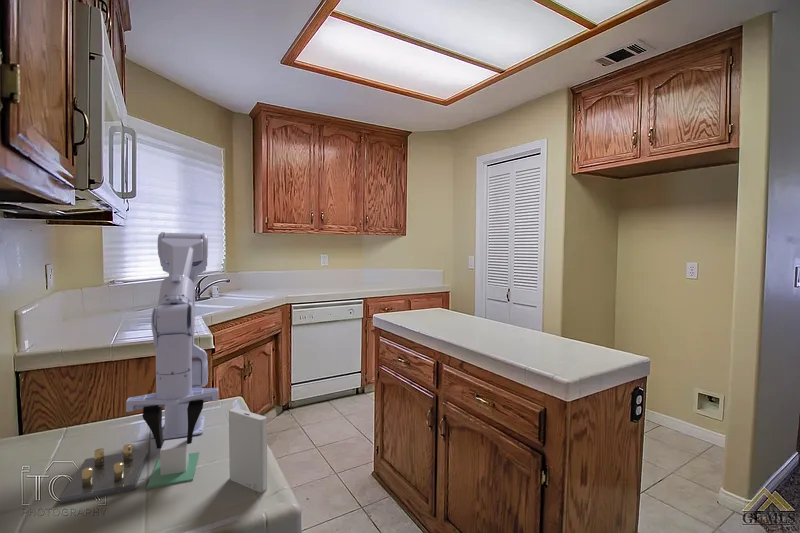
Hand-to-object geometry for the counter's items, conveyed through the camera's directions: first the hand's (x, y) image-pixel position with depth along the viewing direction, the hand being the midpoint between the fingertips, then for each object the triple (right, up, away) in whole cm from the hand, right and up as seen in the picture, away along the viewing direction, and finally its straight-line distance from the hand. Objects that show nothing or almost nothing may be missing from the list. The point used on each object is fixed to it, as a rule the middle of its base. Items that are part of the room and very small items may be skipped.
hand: (174, 443), depth 74 cm
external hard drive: (+15, -5, -4) cm, 16 cm away
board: (0, -5, 0) cm, 5 cm away
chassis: (-10, -5, -2) cm, 12 cm away
